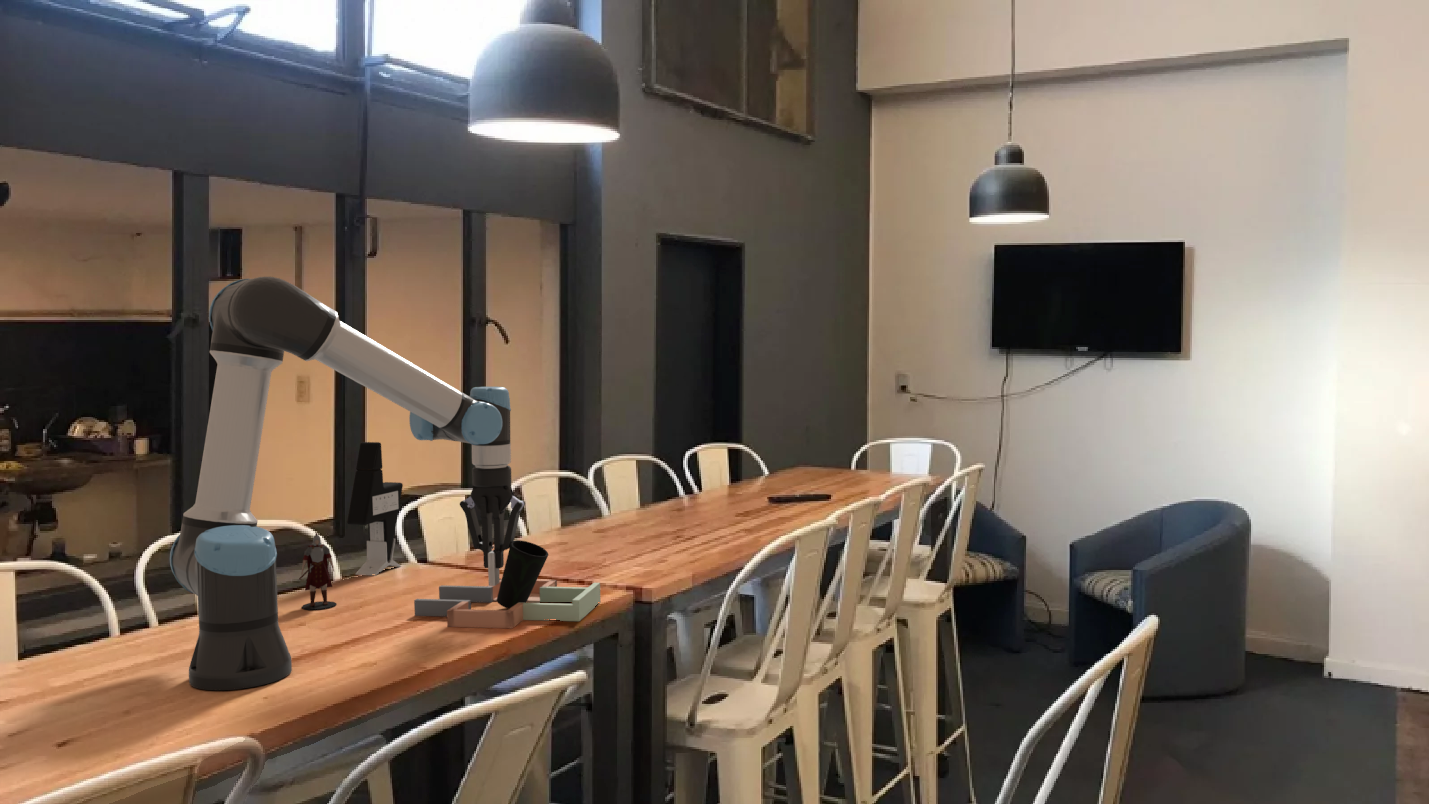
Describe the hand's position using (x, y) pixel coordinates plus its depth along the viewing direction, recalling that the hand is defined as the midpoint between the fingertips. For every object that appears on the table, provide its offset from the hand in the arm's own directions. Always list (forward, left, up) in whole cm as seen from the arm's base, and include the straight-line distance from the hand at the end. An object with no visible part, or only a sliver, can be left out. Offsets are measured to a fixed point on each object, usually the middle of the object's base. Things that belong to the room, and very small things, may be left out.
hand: (494, 584), depth 222 cm
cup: (+3, 0, -4) cm, 5 cm away
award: (-41, +32, -5) cm, 52 cm away
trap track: (+2, -1, -5) cm, 5 cm away
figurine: (-37, -2, -5) cm, 37 cm away
